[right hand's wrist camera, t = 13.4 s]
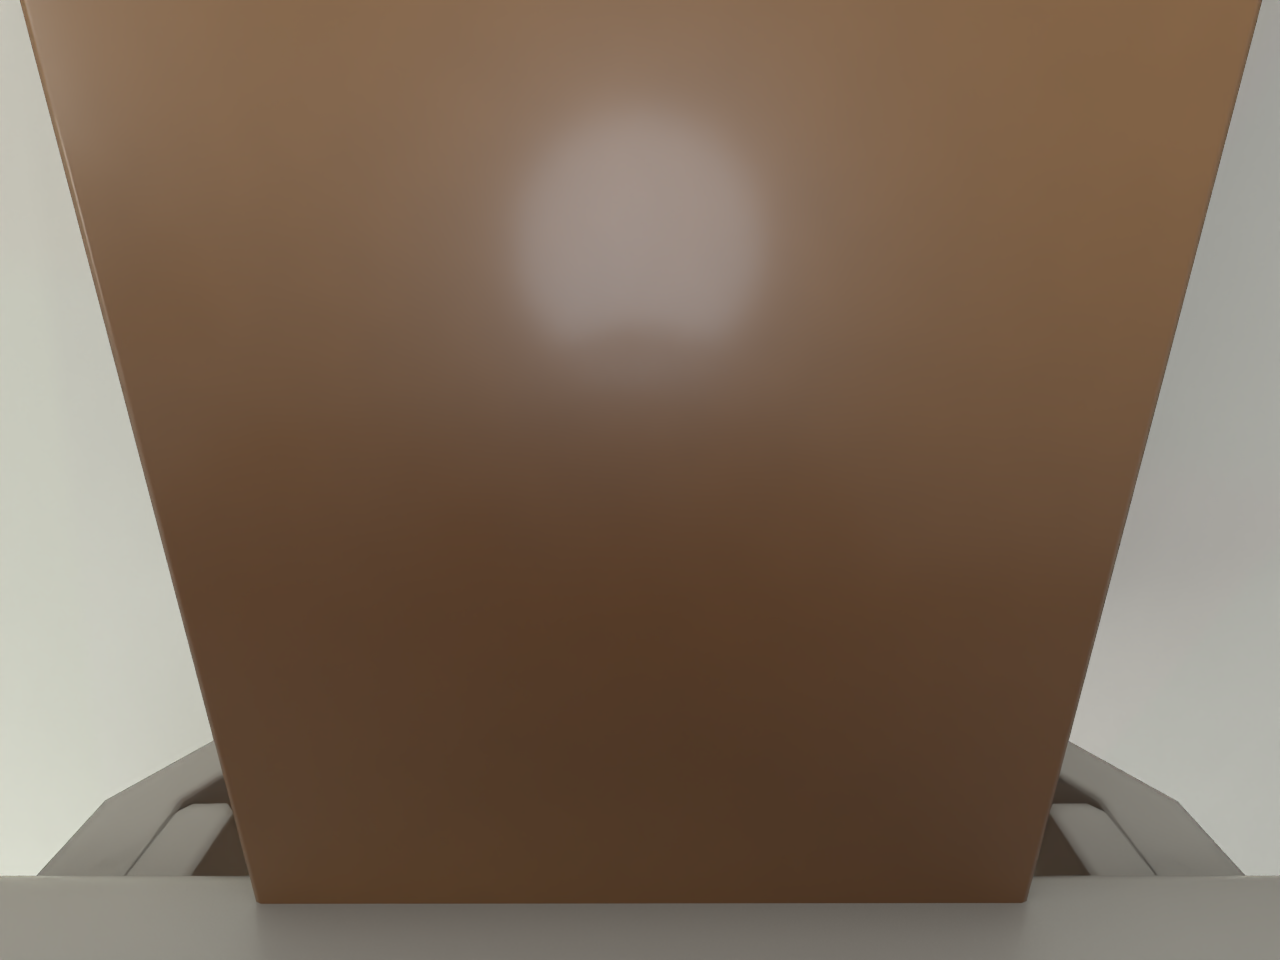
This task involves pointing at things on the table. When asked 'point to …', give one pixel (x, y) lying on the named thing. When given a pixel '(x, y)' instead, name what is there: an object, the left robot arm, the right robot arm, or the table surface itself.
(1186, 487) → the table surface
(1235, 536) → the table surface
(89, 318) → the table surface
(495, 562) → the box
